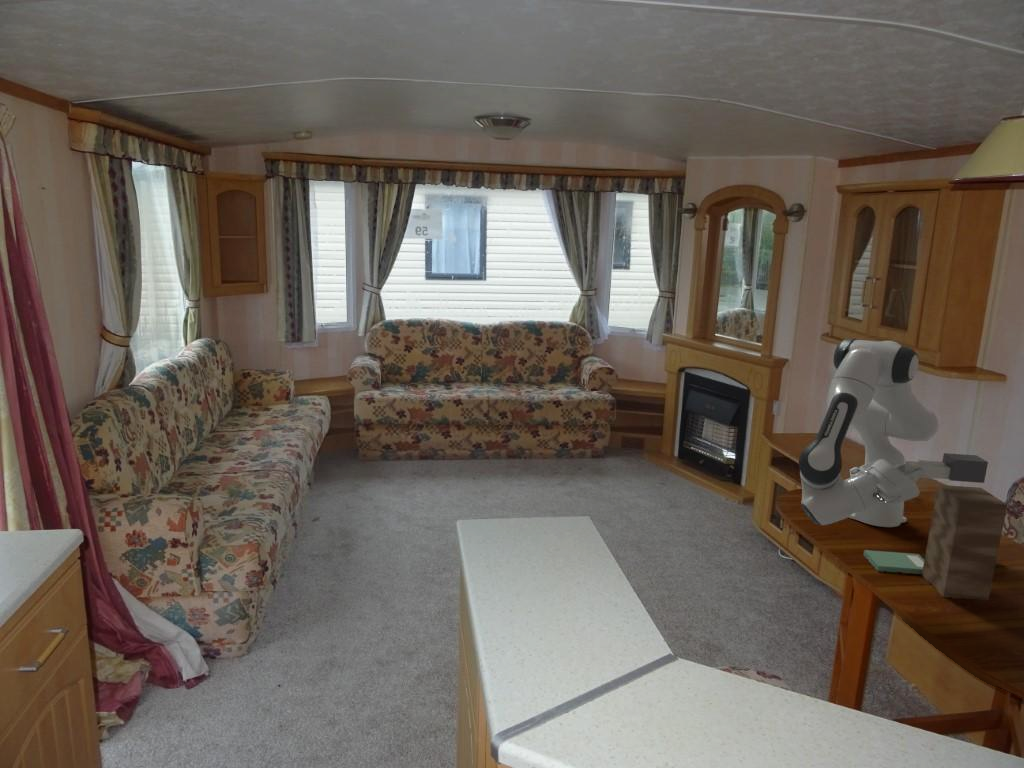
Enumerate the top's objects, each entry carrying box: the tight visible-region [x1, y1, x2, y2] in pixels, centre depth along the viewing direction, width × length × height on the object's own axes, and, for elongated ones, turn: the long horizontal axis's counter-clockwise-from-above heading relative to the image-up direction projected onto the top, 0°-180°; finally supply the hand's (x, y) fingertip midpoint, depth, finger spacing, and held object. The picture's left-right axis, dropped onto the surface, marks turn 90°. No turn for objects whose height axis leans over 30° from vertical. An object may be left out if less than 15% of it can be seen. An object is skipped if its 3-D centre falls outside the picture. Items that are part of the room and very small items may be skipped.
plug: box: [903, 452, 989, 484], centre depth 186 cm, size 6×18×6 cm, turn 85°
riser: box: [921, 484, 1008, 601], centre depth 190 cm, size 12×11×26 cm
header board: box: [863, 549, 925, 575], centre depth 204 cm, size 10×15×2 cm, turn 85°
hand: (919, 467), depth 187 cm, fingers closed on plug, 3 cm apart
